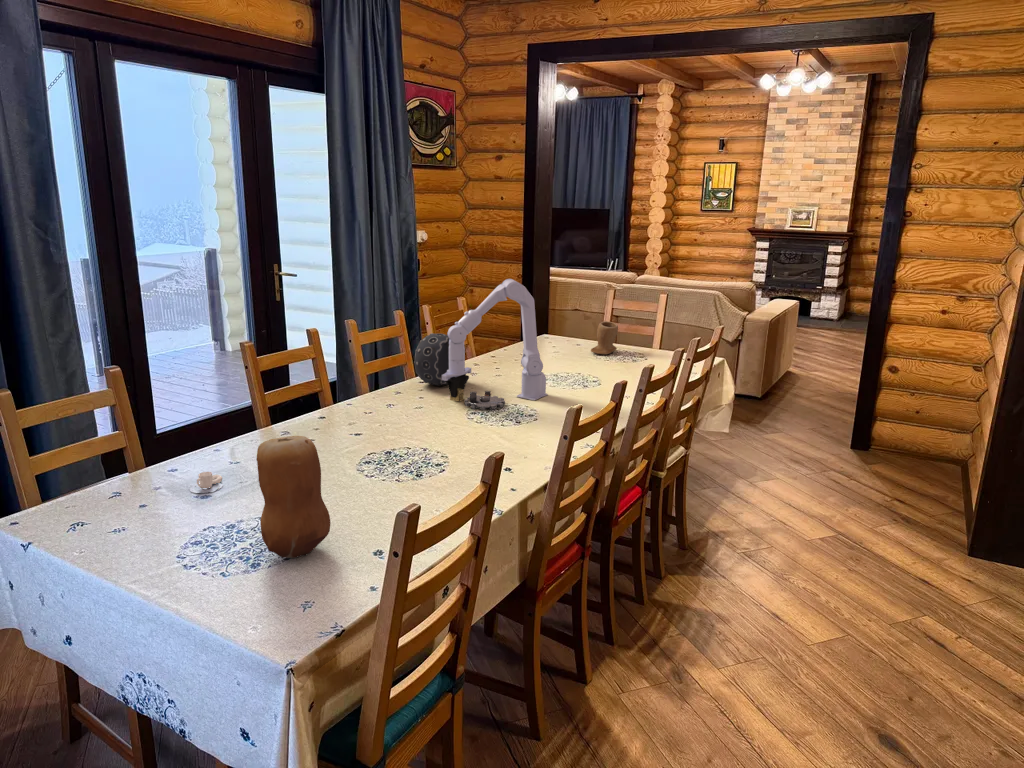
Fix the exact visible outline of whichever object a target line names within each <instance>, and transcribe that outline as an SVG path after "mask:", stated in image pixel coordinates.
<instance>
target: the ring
mask: <svg viewBox="0 0 1024 768" xmlns="http://www.w3.org/2000/svg"><path fill="white" fill-rule="evenodd" d="M449 339H450V338H449V337H448V335H447V334H444V333H430V334H429V335H426V336H424V337H423V338H422V339H421V340H419V343H418V345H417V347H416V349H415V354H414V361H413V364H414V368H415V369H414V370H415V374H417V376H418V378H419V379H420V380H422V381H423V383H425V384H429V385H432V386H446V385H447V383H446V382H445V381H444V380H442V375H443V374H445V373H446V372H447V370H449Z"/></svg>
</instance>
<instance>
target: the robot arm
mask: <svg viewBox="0 0 1024 768" xmlns="http://www.w3.org/2000/svg"><path fill="white" fill-rule="evenodd" d="M507 298H508V299H510V300H513V301H515V302H516V303H517V304H519V305H520V312H521V324H522V341H523V342H522V343H523V347H522V357H521V359H520V365H521V366H522V367H523V369H522V371H521V392H520V394H516V397H517V398H521V399H526V400H530V401H536V400H539V399H541V398H544V397H546V396H548V393H547V391H546V390H547V377H546V375H545V373H544V372H543V369H544V363H543V361H542V360H541V355H540V351H539V349H538V336H537V335H538V333H537V321H536V320H537V319H536V309H535V308H536V307H535V298H534V297H533V296H532V295H531V293H530V292H529V290H528V289H527V287H526V286H524V284H522V283H521V282H518V281H516V280H515V279H512V278H506V279H505V280H503V281H502V283H500V284H498V285H497V286H496V287H495V288H494V289H493V290H492V291H491V292H490V293H489V294H488V296H487V297H485V299H484V300H483V301H482V302H481V303H480V304H479V305H478V306H477V307H476V308H475V309H470V310H468V311H467V310H466V311H465V312H464V313H463V314H464V315H463V316H462V317H461V318H460V319H459V320H458V321H455V322H454V325H452V326H450V327H449V328H448V331H447V334H446V335H448V337H449V338H450V339H449V370H447V372H446V373H445V374H443V375H442V380H444V381H445V382H446V383H447V384H446V385H447V388H448V390H449V395H450V394H451V397H454V398H456V397H457V389H458V388H461V389H464V390H465V388H466V384H467V382H468V381H469V379H470V375H467V374H472V367H468V366H465V365H466V360H465V359H466V357H465V356H466V355H465V353H466V347H465V341H466V339H467V335H469V334H470V333H471V332H473V330H475V328H476V327H477V326H479V325H480V324H481V323H482V318H483V317H482V316H483V315H485V314H486V313H487V312H488V311H489V310H491V309H492V308H493V307H494V306H495V305H497V304H498V303H499V302H505V301H508V299H507Z"/></svg>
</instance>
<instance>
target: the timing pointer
mask: <svg viewBox="0 0 1024 768" xmlns="http://www.w3.org/2000/svg"><path fill="white" fill-rule="evenodd" d="M491 394H492V393H491V390H485V391H484V395H489V396H492V395H491Z"/></svg>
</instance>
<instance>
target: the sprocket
mask: <svg viewBox="0 0 1024 768" xmlns="http://www.w3.org/2000/svg"><path fill="white" fill-rule="evenodd" d="M463 401H464V403H463V404H464V406H465V407H470V409H473V410H475V409H480V410H482V411H485V410H489V409H490V410H496V409H497V408H500V409H501V408H503V407H504V406H506V400H505V398H504V397H499V396H498V395H491V396H489V395H485V394H484V395H480V394H478V393H477V391H473V390H472V391H470V392H469V396H468V397H467V398H464V400H463Z"/></svg>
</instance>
